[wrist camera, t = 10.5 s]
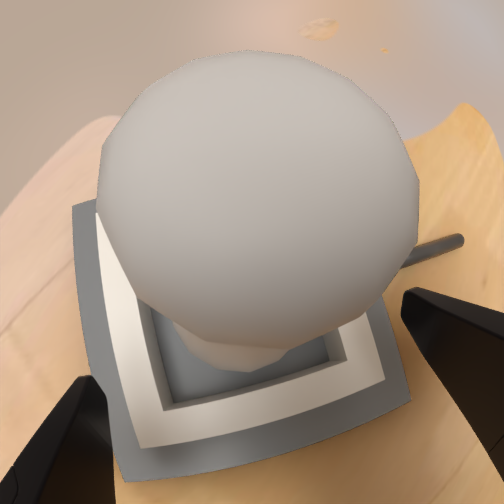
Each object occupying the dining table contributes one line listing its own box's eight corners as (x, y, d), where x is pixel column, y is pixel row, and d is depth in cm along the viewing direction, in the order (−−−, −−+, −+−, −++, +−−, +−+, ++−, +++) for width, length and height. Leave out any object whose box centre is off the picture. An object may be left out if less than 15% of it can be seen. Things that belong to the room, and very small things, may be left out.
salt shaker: (236, 233, 17) (259, -15, 4) (318, 307, 16) (521, 163, 3) (155, 312, 15) (-32, 157, 3) (239, 393, 14) (290, 547, 2)
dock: (413, 149, 21) (433, 121, 18) (490, 344, 16) (524, 338, 13) (78, 213, 17) (54, 185, 14) (130, 476, 13) (109, 499, 9)
